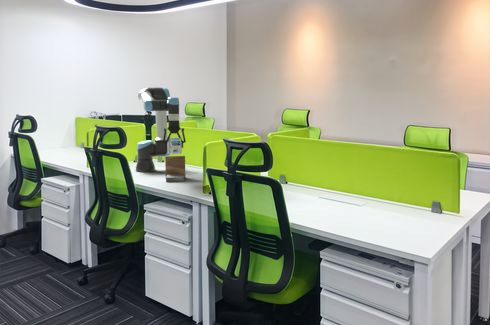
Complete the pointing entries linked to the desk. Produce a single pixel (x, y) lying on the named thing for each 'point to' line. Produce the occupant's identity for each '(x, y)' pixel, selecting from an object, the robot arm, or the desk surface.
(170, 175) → the brown box
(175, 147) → the light bulb box
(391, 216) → the desk surface
